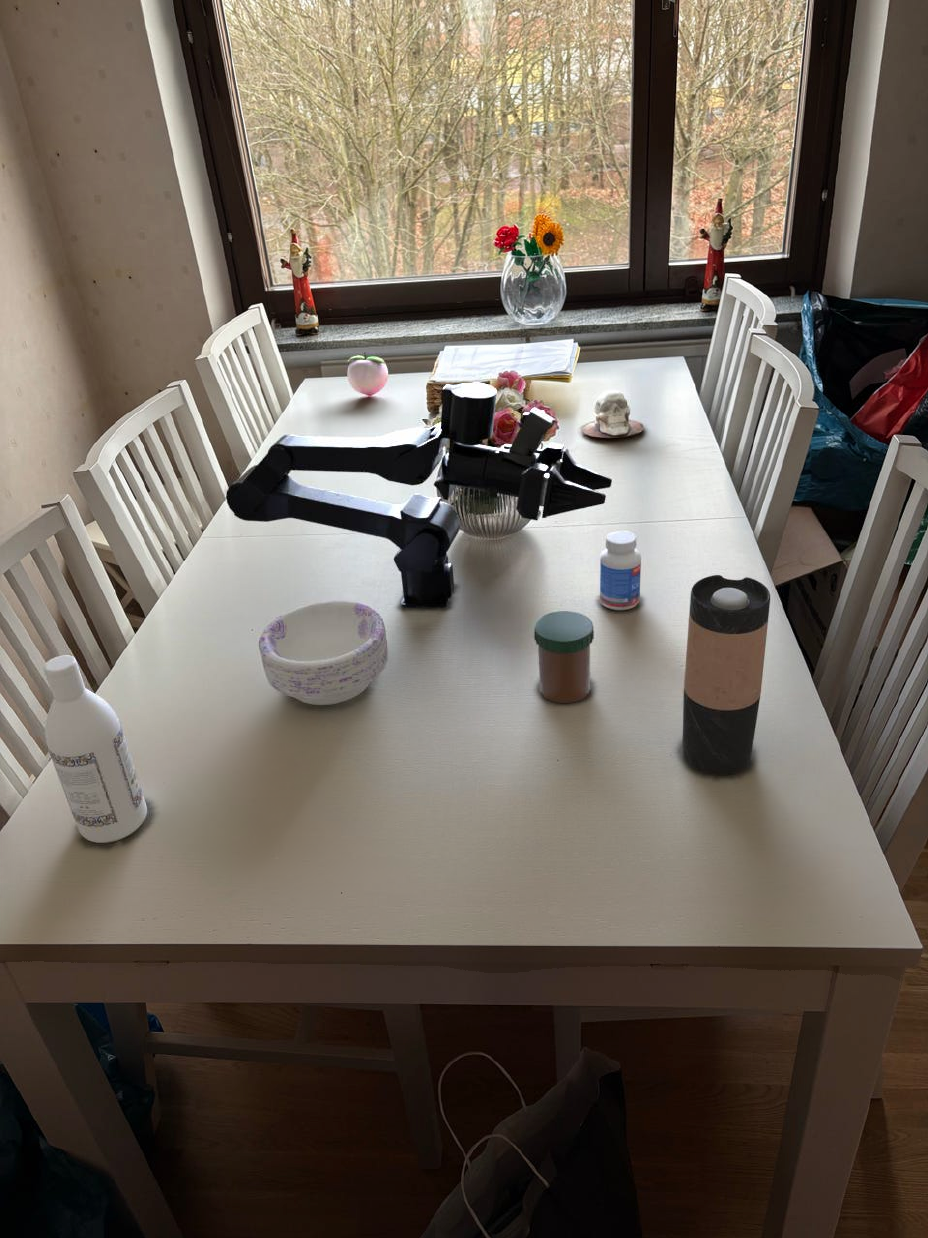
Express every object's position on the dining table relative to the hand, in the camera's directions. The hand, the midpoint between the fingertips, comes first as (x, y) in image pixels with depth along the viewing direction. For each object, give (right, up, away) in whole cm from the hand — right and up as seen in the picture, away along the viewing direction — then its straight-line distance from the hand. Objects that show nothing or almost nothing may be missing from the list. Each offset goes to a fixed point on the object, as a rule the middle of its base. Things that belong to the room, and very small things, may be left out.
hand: (608, 490), depth 121 cm
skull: (+11, +21, +66) cm, 70 cm away
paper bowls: (-35, -24, -2) cm, 43 cm away
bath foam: (-55, -38, -21) cm, 70 cm away
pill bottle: (+3, -14, +11) cm, 18 cm away
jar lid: (-7, -17, -10) cm, 21 cm away
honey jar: (-6, -24, -6) cm, 26 cm away
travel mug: (+9, -31, -18) cm, 37 cm away
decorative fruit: (-40, +34, +95) cm, 109 cm away
